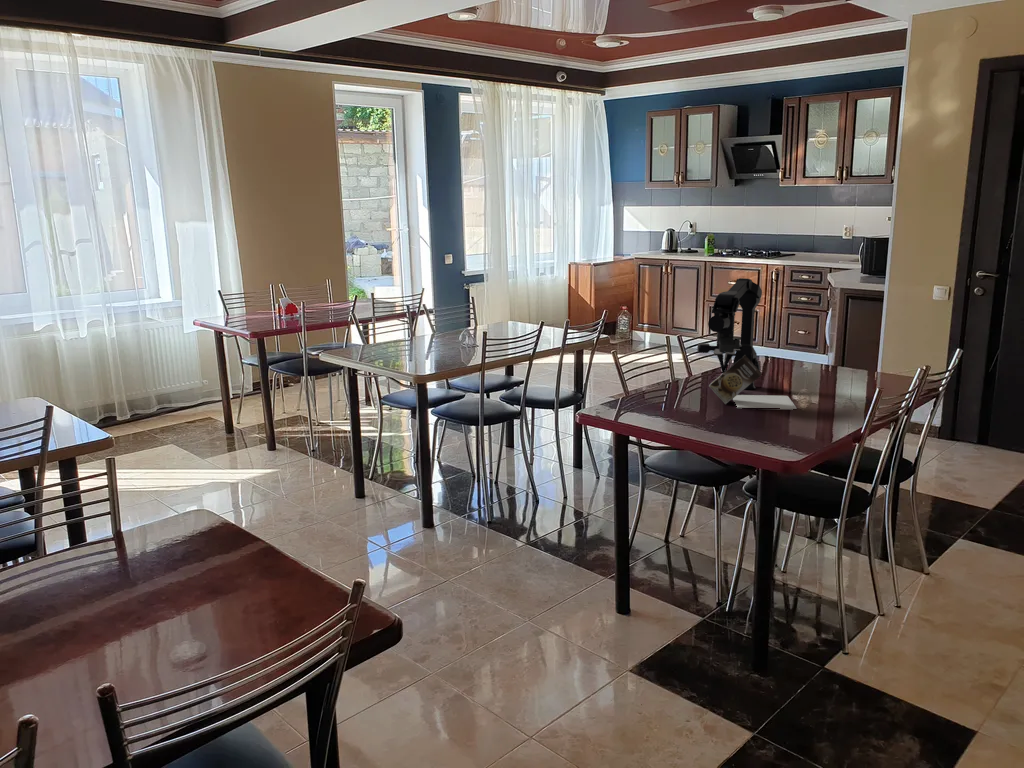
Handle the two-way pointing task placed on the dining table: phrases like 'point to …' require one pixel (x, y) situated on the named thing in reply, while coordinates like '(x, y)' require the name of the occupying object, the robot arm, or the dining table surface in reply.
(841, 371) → the dining table surface
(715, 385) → the cookie box
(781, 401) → the mat
